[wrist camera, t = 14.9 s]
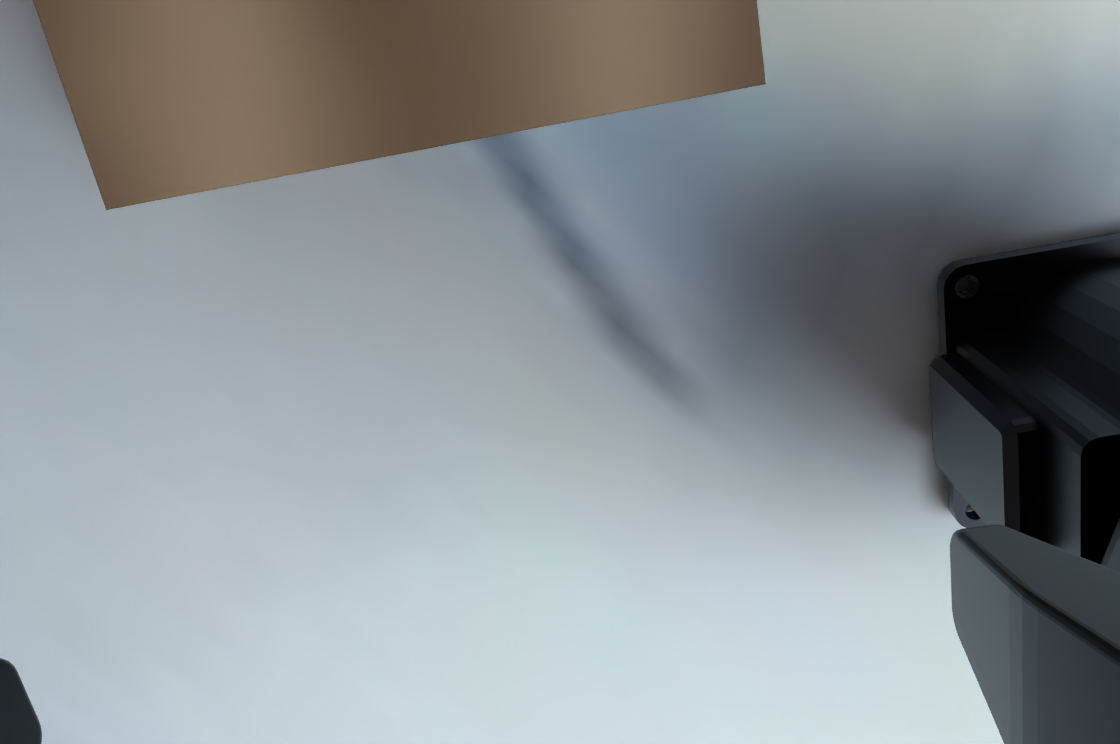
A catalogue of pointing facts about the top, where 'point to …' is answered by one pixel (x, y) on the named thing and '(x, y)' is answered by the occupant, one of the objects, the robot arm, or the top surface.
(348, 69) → the brown flat block
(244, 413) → the top surface
